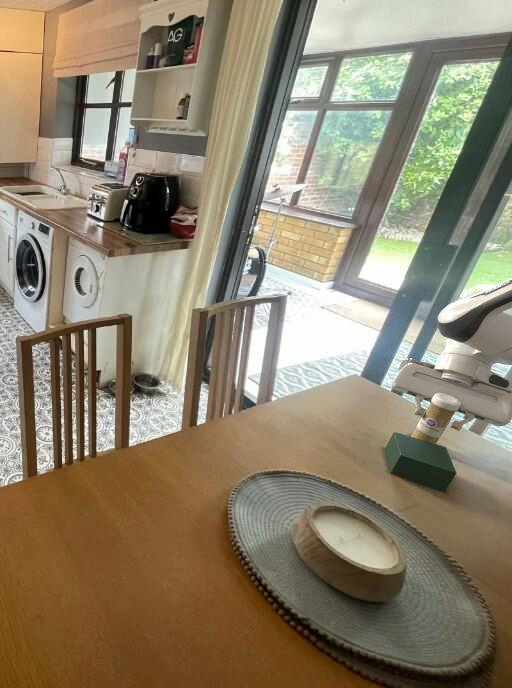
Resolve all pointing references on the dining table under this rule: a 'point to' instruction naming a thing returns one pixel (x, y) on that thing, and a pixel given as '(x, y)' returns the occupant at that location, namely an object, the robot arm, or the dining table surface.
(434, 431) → the sprinkles bottle
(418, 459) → the riser block
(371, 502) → the dining table surface
